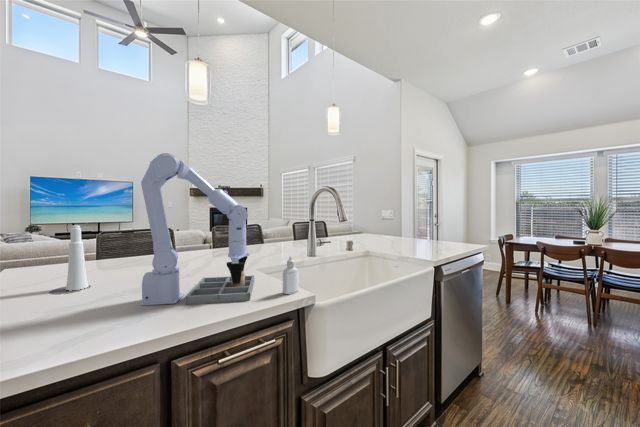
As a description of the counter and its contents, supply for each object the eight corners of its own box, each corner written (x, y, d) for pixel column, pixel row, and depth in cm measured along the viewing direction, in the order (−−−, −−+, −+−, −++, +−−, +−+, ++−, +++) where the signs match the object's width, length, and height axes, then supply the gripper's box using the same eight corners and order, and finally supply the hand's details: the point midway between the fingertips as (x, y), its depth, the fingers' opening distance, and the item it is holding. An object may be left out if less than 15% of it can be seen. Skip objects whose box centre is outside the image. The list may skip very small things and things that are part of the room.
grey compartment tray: (185, 304, 80) (185, 296, 80) (203, 283, 101) (203, 277, 101) (250, 300, 83) (249, 293, 83) (254, 281, 104) (254, 275, 104)
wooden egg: (230, 291, 90) (230, 271, 90) (232, 287, 95) (232, 268, 94) (244, 290, 91) (244, 270, 91) (245, 286, 95) (245, 267, 95)
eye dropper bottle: (300, 293, 90) (300, 257, 89) (283, 295, 88) (283, 258, 88) (297, 289, 94) (297, 255, 94) (281, 291, 92) (281, 256, 92)
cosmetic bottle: (78, 291, 92) (76, 226, 91) (60, 291, 92) (58, 226, 91) (93, 285, 98) (91, 224, 97) (76, 285, 98) (75, 224, 97)
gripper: (247, 243, 86) (248, 285, 86) (251, 237, 100) (251, 274, 100) (224, 243, 85) (224, 287, 85) (231, 238, 99) (231, 275, 99)
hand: (237, 280), depth 93 cm, fingers open, 7 cm apart
